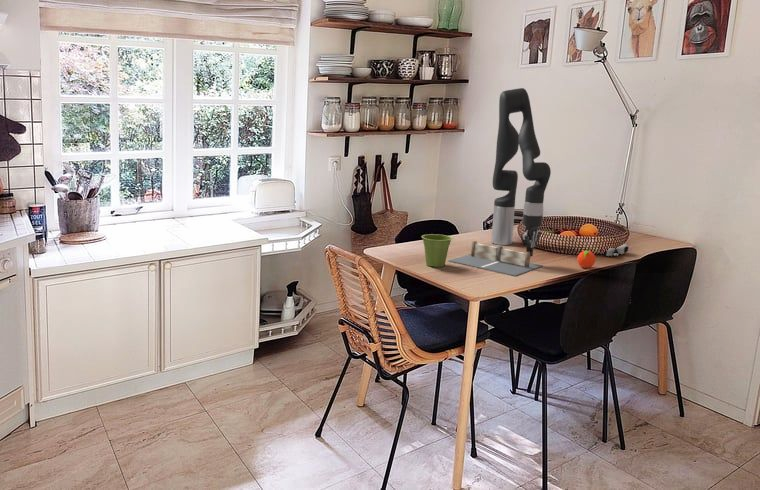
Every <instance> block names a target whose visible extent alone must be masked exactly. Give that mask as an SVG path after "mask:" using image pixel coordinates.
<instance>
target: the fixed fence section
mask: <svg viewBox="0 0 760 490" xmlns="http://www.w3.org/2000/svg"><path fill="white" fill-rule="evenodd" d="M497 251H498V246H492V245H488V244H482V243H479V242H478V241H477V240H476V241H475V240H471V251H470V252H471V253H470V254H471V256H472V257H478V258H483V259H487V260H492V261H497Z"/></svg>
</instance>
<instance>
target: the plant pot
mask: <svg viewBox="0 0 760 490" xmlns="http://www.w3.org/2000/svg"><path fill="white" fill-rule="evenodd" d="M421 239H422V241H423V246H424V257H425V264H426V266H427V267H434V268H441V267H444V266H445V265H446V261H447V257H448V252H449V247H450V245H451V242H452V241H453V237H452V236H450V235H445V234H433V233H431V234H430V233H429V234H423V235H421ZM451 240H452V241H451Z"/></svg>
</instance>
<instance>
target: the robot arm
mask: <svg viewBox="0 0 760 490" xmlns="http://www.w3.org/2000/svg"><path fill="white" fill-rule="evenodd" d="M498 101H499V103H498V120H499V121H498V129H497V137H496V138H497V139H496V147H495V148H496V149H495V150H496V151H495V163H494V169H493V176H492V187H493V189H494V190H496V191H503V192H504V191H505V192H508V193H507V194H505V195H503V196H499V197H497V198H495V199H494V202H493V203H494V204H493V216H492V226H491V227H492V228H491V229H492V230H491V244H493V243H494V244H495V245H498V246H509V245H512V244H513V237H514V227H515V225H514V224H515V222H514V221H515V209H516V208H515V207H516V197H517V196H516V194H517V188H518V181H519V174H518V171H516V170H514V169H513V170H511V169H510V170H508V169H504V167H505V166H506V165H507V164H508V162H511V160H512V159H513V158H514V157H515V155H517V153H518V150H519V149H520V152H521V155H522V174H523V177H524V179H526V180H527V181H531V182H532V181H533V182H534V183H533V185H531V186H528V187H526V190H525V195H524V196H525V197H524V206H523V213H522V225H523V226H524V227H525V228H524V230H523V231H524V233H523V234H521V235H520V238H521V241H522V245H523V247H526V249H525V250H526V251H525V253H526V252H530V258H531V257H533V256H534V248H535V246H537V245H538V243H539V241H540V240H539V239H541V238H540V237H541V236H542V231H540V230H539V227H542V226H543V218H544V216H543V215H544V200H545V199H544V197H545V191H546V189H547V187H548V184H549V181H550V178H551V173H552V171H551V166H550V165H549V163H547V162H542V161H541V162H540V161H538V162H535V159H537V158H538V157H540V155H541V150H540V145H539V142H538V139H537V136H536V132H535V126H534V120H533V113H532V106H531V102H530V96H529V94H528V92H527V90H526V89H525V88H523V87H522V88H521V87H519V88H514V89H506V90H502V91H501V93H500V94H499V100H498ZM520 112H521V113H522V123H521V127H520V130H519V132H518V130H517V129H516V127H515V126H514V125H513V124H512V123H511V119H510V115H511V114H515V113H516V114H517V113H520Z"/></svg>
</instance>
